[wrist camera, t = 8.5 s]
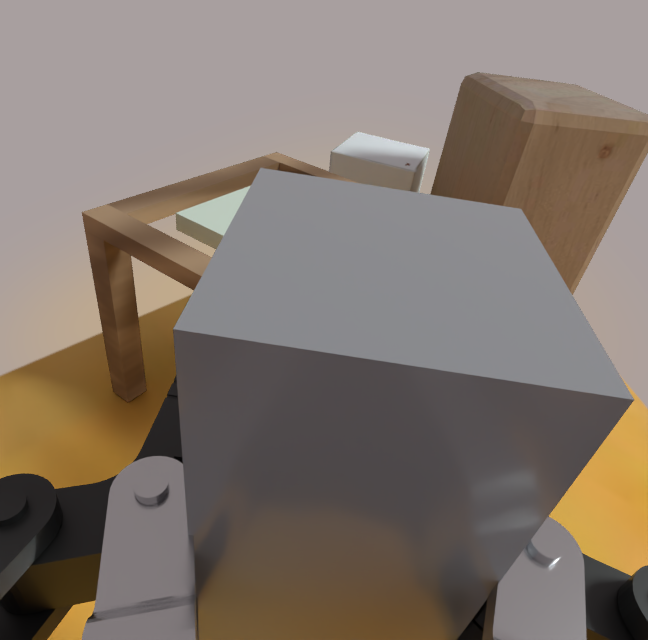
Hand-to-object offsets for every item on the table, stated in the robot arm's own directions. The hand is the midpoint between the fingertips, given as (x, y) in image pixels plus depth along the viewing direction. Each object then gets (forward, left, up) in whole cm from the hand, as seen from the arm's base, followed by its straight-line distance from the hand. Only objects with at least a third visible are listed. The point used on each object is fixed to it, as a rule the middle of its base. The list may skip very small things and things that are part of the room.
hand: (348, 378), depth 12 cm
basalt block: (+1, -2, -7) cm, 8 cm away
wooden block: (-3, +30, -17) cm, 35 cm away
